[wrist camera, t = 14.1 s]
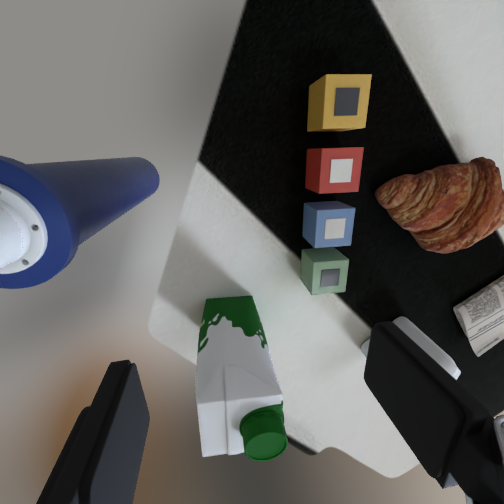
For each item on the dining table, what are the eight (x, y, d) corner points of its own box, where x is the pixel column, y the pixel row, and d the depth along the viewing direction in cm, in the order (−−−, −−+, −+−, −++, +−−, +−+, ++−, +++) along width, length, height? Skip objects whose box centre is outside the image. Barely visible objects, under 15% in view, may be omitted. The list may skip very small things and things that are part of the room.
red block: (306, 148, 33) (322, 148, 28) (343, 147, 34) (364, 147, 29) (305, 188, 35) (319, 193, 30) (339, 186, 35) (358, 191, 31)
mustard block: (306, 131, 32) (322, 128, 28) (309, 85, 30) (326, 73, 26) (344, 131, 33) (366, 127, 28) (348, 85, 31) (372, 73, 26)
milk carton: (257, 335, 43) (289, 473, 24) (202, 340, 42) (193, 489, 23) (257, 289, 40) (295, 409, 21) (199, 293, 39) (185, 424, 20)
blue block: (302, 236, 37) (314, 248, 33) (303, 202, 36) (317, 210, 31) (334, 234, 38) (351, 245, 33) (337, 200, 36) (356, 208, 31)
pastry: (396, 270, 42) (435, 295, 35) (369, 187, 36) (409, 196, 29) (490, 220, 41) (551, 235, 34) (479, 126, 35) (549, 119, 28)
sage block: (300, 278, 40) (311, 295, 35) (301, 249, 38) (313, 262, 33) (330, 275, 41) (345, 292, 36) (333, 246, 39) (349, 259, 34)
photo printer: (367, 358, 49) (414, 421, 37) (355, 346, 47) (400, 409, 36) (411, 324, 47) (475, 379, 35) (400, 311, 45) (463, 364, 34)
